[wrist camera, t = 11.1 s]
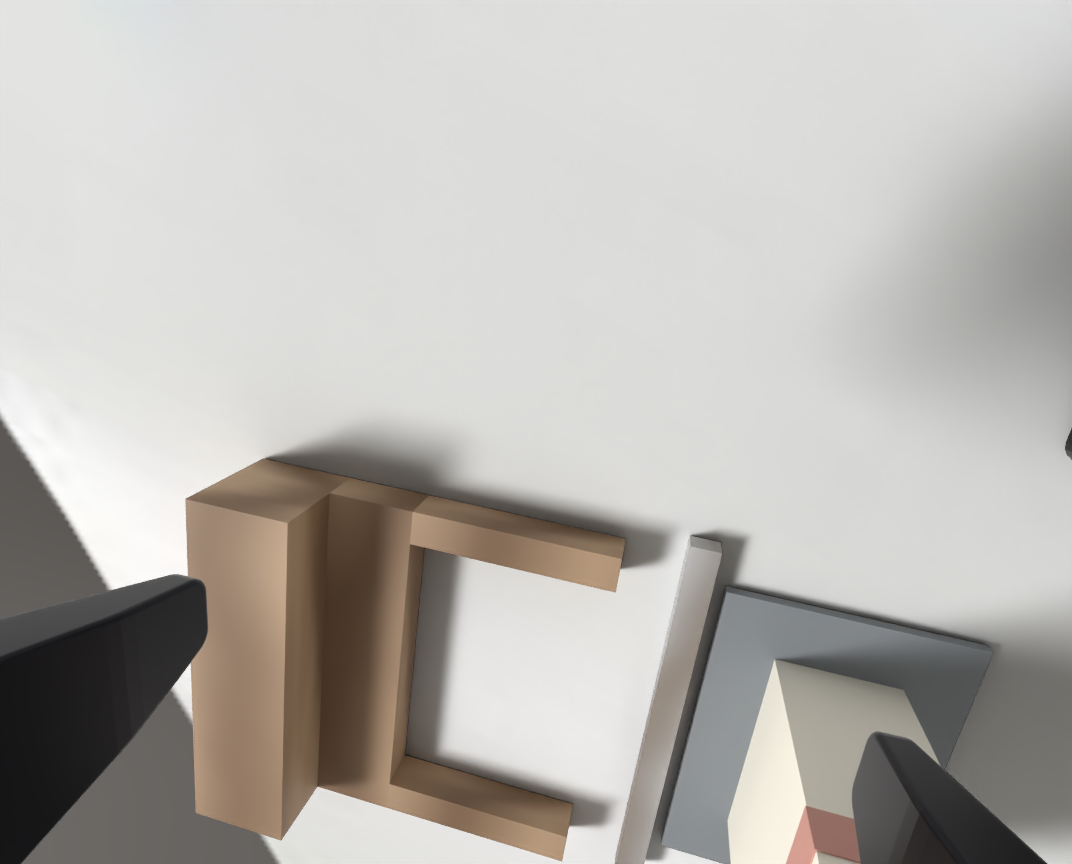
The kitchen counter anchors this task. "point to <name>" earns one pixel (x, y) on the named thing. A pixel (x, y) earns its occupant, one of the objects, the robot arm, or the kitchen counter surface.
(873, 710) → the block
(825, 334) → the kitchen counter surface
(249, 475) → the cradle
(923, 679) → the mat
